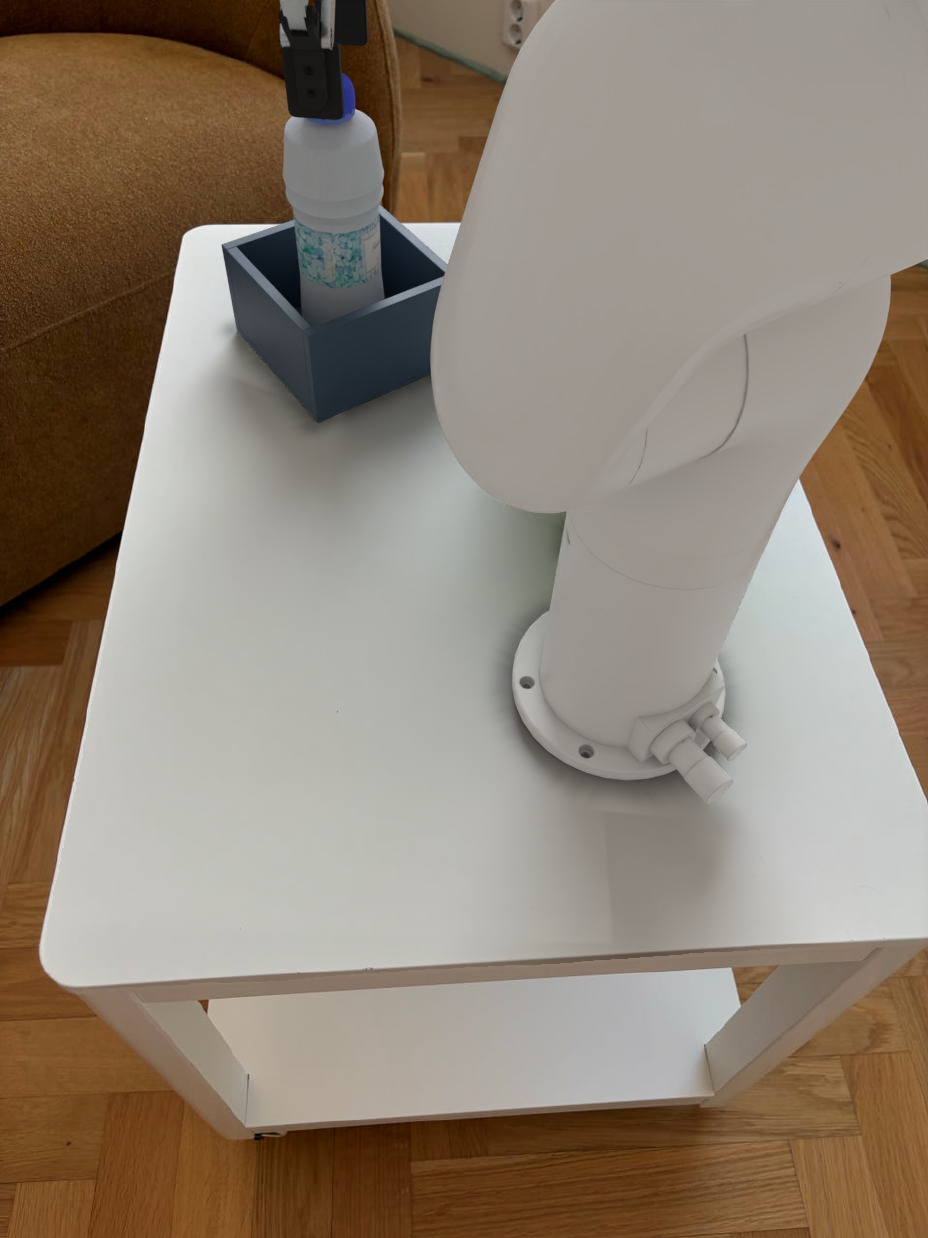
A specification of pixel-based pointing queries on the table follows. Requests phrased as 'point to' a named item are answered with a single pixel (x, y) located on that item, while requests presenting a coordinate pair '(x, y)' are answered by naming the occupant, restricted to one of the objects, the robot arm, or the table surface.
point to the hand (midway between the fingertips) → (330, 77)
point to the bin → (336, 319)
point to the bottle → (335, 210)
